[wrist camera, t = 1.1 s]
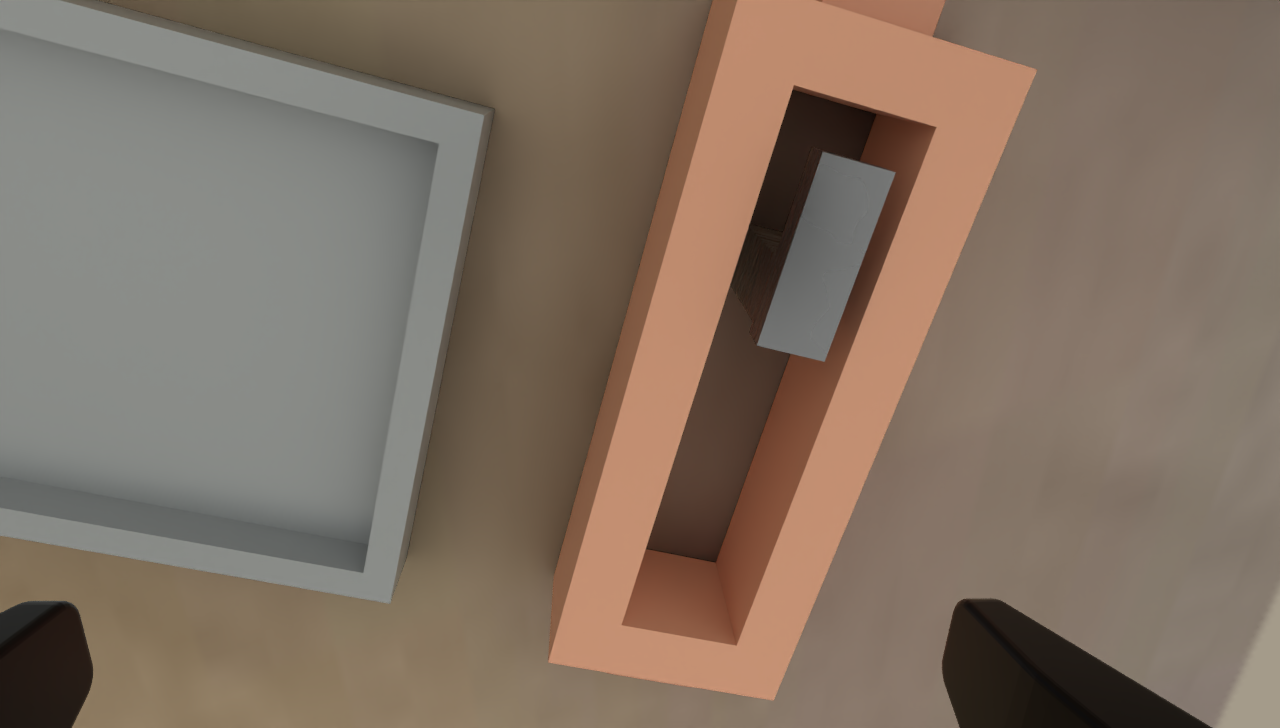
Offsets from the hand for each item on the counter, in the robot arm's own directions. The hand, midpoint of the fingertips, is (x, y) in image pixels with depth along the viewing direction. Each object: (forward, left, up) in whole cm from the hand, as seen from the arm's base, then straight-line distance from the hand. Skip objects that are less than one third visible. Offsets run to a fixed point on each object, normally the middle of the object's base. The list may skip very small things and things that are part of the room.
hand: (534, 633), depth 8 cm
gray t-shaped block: (-5, -3, -13) cm, 14 cm away
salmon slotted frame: (-5, 0, -13) cm, 13 cm away
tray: (+13, +2, -13) cm, 18 cm away
